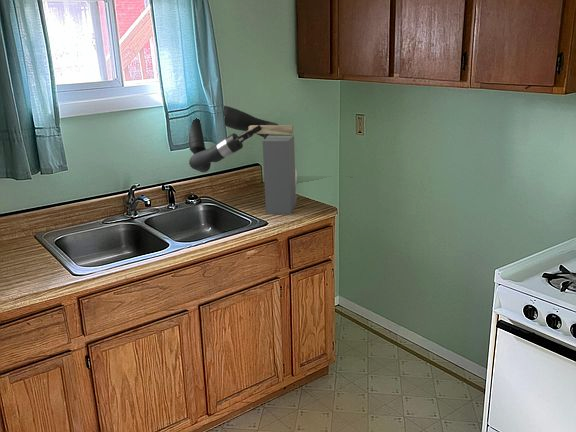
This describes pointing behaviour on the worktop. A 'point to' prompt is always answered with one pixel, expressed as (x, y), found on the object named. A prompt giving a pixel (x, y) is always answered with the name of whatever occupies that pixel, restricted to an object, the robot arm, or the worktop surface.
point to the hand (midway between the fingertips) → (261, 126)
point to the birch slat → (274, 129)
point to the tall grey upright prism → (279, 173)
